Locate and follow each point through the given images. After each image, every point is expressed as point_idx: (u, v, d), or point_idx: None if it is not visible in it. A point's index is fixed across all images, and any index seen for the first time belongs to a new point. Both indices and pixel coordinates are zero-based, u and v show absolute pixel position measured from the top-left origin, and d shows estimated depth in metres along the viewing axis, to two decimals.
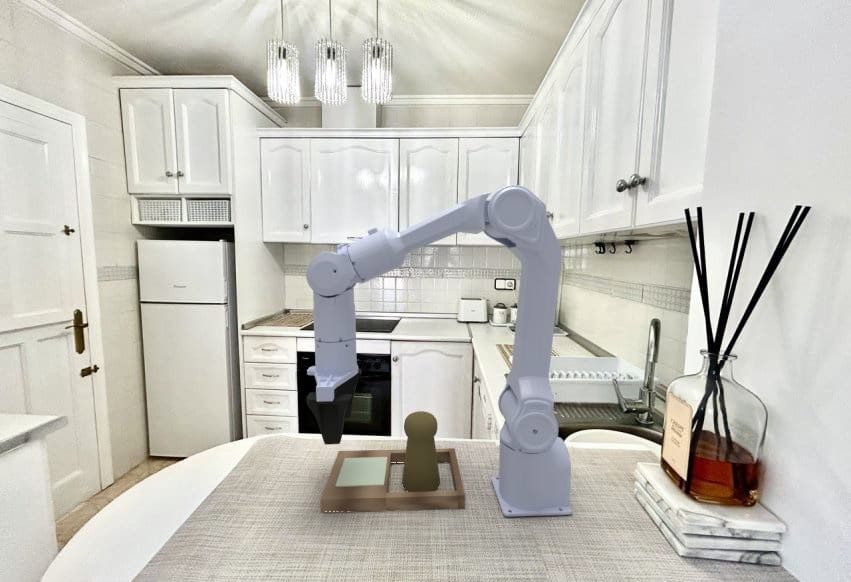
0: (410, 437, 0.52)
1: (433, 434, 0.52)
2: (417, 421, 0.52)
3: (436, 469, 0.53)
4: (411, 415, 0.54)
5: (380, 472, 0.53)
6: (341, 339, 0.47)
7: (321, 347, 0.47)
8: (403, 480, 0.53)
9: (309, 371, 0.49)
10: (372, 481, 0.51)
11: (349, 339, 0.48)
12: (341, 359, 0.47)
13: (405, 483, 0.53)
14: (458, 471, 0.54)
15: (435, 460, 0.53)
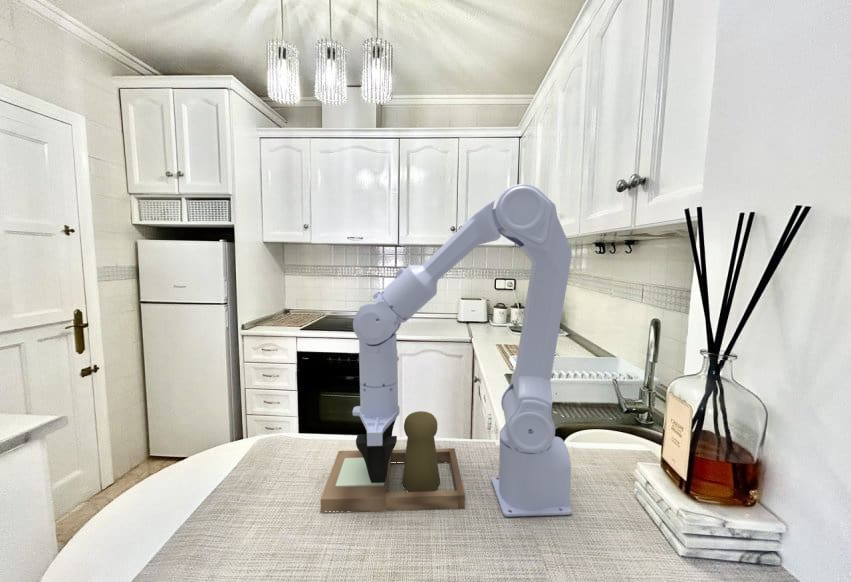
0: (410, 437, 0.52)
1: (433, 434, 0.52)
2: (417, 421, 0.52)
3: (436, 469, 0.53)
4: (411, 415, 0.54)
5: None
6: (384, 384, 0.50)
7: (367, 391, 0.50)
8: (403, 480, 0.53)
9: (355, 412, 0.52)
10: None
11: (393, 383, 0.51)
12: (386, 402, 0.50)
13: (405, 483, 0.53)
14: (458, 471, 0.54)
15: (435, 460, 0.53)
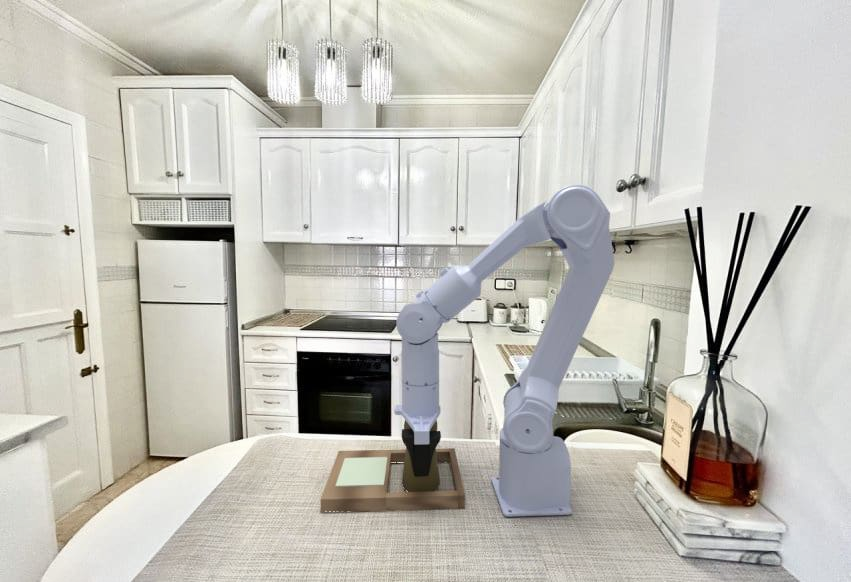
0: None
1: None
2: None
3: (436, 469, 0.53)
4: None
5: (380, 472, 0.53)
6: (426, 383, 0.50)
7: (411, 390, 0.50)
8: (403, 480, 0.53)
9: (397, 411, 0.52)
10: (372, 481, 0.51)
11: (435, 382, 0.51)
12: (429, 401, 0.51)
13: (405, 483, 0.53)
14: (458, 471, 0.54)
15: (435, 459, 0.53)
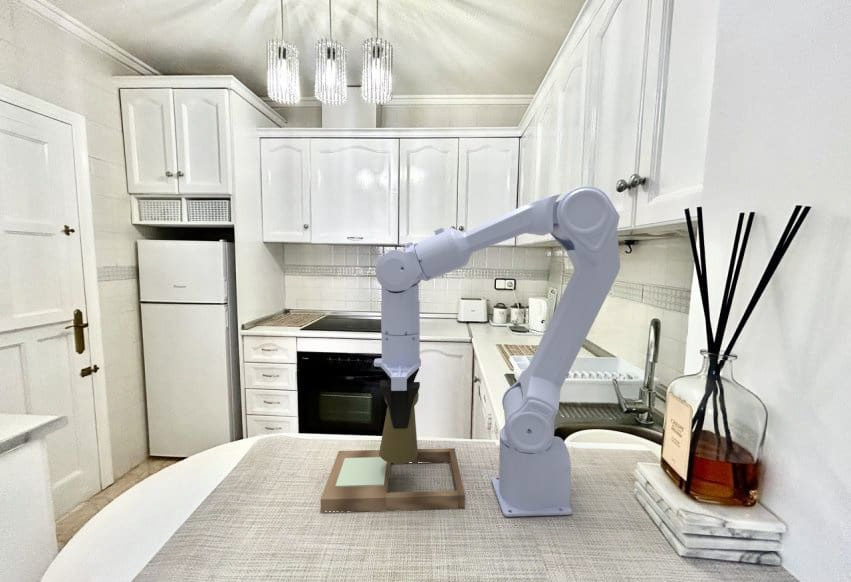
0: None
1: (414, 403, 0.52)
2: None
3: (415, 439, 0.53)
4: None
5: (380, 472, 0.53)
6: (406, 333, 0.50)
7: (390, 340, 0.50)
8: (381, 449, 0.53)
9: (376, 363, 0.51)
10: (372, 481, 0.51)
11: (415, 333, 0.50)
12: (409, 351, 0.50)
13: (383, 452, 0.52)
14: (458, 471, 0.54)
15: (414, 429, 0.52)
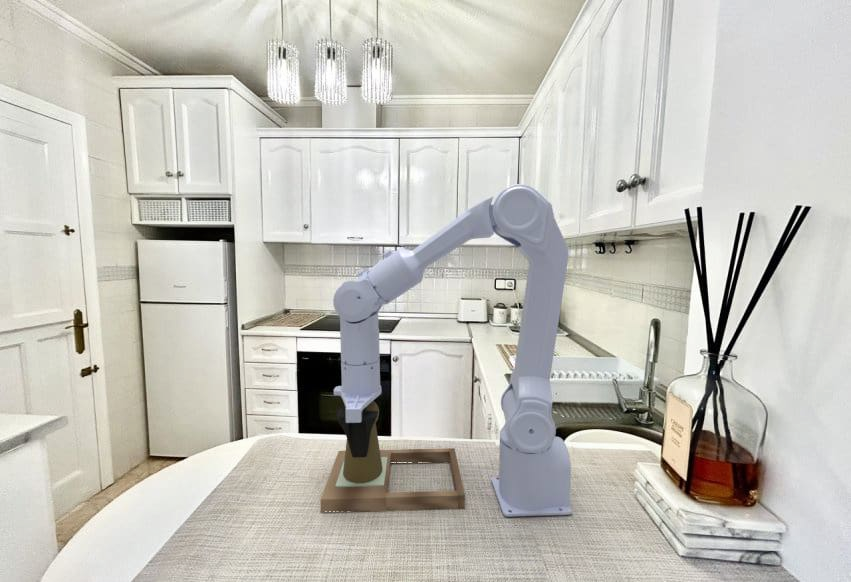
0: None
1: None
2: None
3: (377, 456, 0.53)
4: None
5: None
6: (365, 362, 0.50)
7: (348, 369, 0.50)
8: (344, 469, 0.53)
9: (336, 391, 0.52)
10: (372, 481, 0.51)
11: (374, 362, 0.51)
12: (367, 380, 0.50)
13: (345, 472, 0.52)
14: (458, 471, 0.54)
15: (376, 447, 0.52)
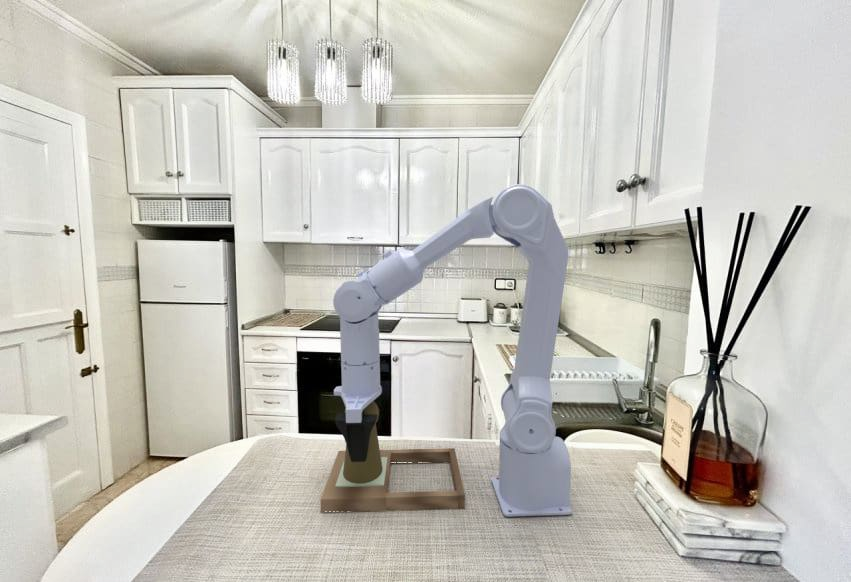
0: None
1: None
2: None
3: (377, 457, 0.52)
4: None
5: None
6: (365, 362, 0.50)
7: (348, 370, 0.50)
8: (344, 469, 0.53)
9: (336, 392, 0.52)
10: (372, 481, 0.51)
11: (374, 362, 0.51)
12: (367, 381, 0.50)
13: (345, 472, 0.52)
14: (458, 471, 0.54)
15: (376, 447, 0.52)
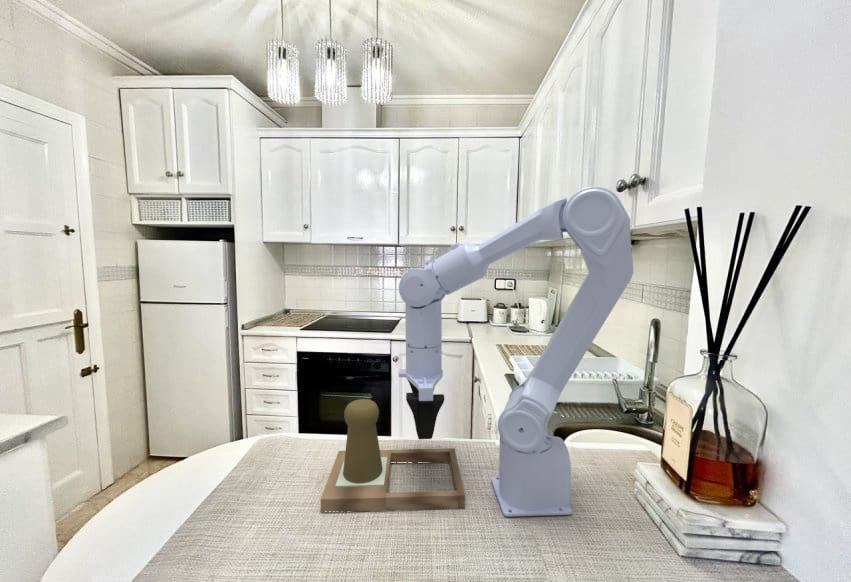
0: (350, 425, 0.51)
1: (373, 421, 0.51)
2: (356, 408, 0.51)
3: (377, 457, 0.53)
4: (352, 403, 0.53)
5: None
6: (426, 346, 0.53)
7: (415, 352, 0.53)
8: (344, 469, 0.53)
9: (401, 374, 0.55)
10: (372, 481, 0.51)
11: (438, 345, 0.54)
12: (432, 363, 0.53)
13: (345, 472, 0.52)
14: (458, 471, 0.54)
15: (376, 447, 0.52)
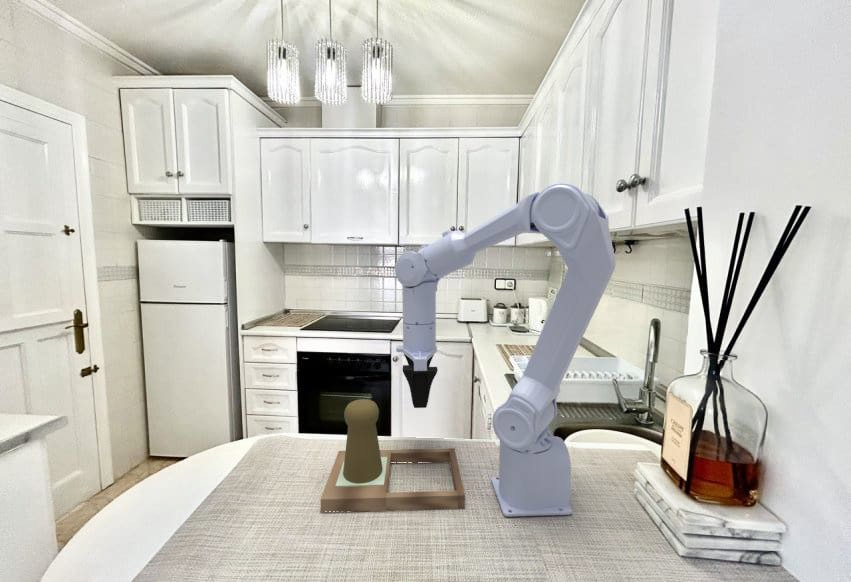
0: (350, 425, 0.51)
1: (373, 421, 0.51)
2: (356, 408, 0.51)
3: (377, 457, 0.53)
4: (352, 403, 0.53)
5: None
6: (418, 323, 0.57)
7: (411, 329, 0.58)
8: (344, 469, 0.53)
9: (398, 349, 0.59)
10: (372, 481, 0.51)
11: (432, 322, 0.59)
12: (427, 338, 0.58)
13: (345, 472, 0.52)
14: (458, 471, 0.54)
15: (376, 447, 0.52)
